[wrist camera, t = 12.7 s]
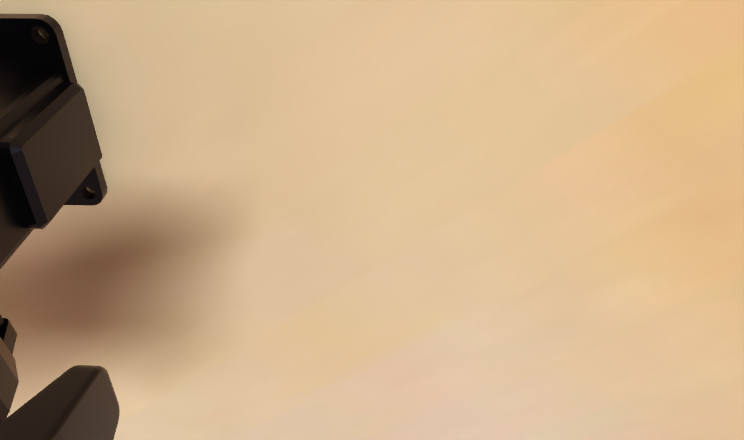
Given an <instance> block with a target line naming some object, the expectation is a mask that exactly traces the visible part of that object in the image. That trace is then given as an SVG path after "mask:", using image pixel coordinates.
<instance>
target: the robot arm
mask: <svg viewBox="0 0 744 440" xmlns="http://www.w3.org/2000/svg"><path fill="white" fill-rule="evenodd" d="M38 27H41V28H43V29H44V30H46V32H47V33H48V35H49V39H46V38H43V37H42V36H41V35H40V34H39V32H38ZM101 158H102V153H101V150H100V146H99V143H98V139H97V135H96V132H95V128H94V125H93V121H92V118H91V114H90V110H89V107H88V103H87V100H86V96H85V93H84V90H83V88H82V87H81V86H80V85H79V84H78V83H77V80H76V77H75V73H74V69H73V66H72V62H71V59H70V55H69V52H68V48H67V45H66V41H65V38H64V34H63V31H62V29H61V27H60V25H59V24H58V22H57V21H56V20H55V19H53V18H52V17H50V16H48V15H43V14H0V269H1V268H2V266H3V265H4V264H5V263H6V262H7V260H8V259H9V258H10V257H11V256H12V254H13V253H14V252H15V251H16V250H17V248H18V247H19V246H20V245H21V244H22V242H23V241H24V240H25V239H26V238H27V236H28V235H29V234H30V233H31V232H32V230H33V229H43V228H45V227H46V226H47V225H48V223H49V222H50V221H51V220H52V219H53V217H54V216H55V215H56V214H57V212H58V211H59V210H60V209H61V207H62V206H63V205H97V204H99V203H100V202H101V201H102V200H103V198H104V197H105V195H106V193H107V186H106V182H105V179H104V175H103V172H102V168H101V164H100V161H99V160H100V159H101ZM86 187H90V188H91V189H93V190H94V191H95V193H91V192H90V191H88V190H87V188H86ZM16 337H17V333H16V331H15V330H14V328H13V326H12V325H11V323H10V322H9V320H8V319H7V318H2V317H1V315H0V440H113V439H114V435H115V432H116V428H117V424H118V420H119V404H118V401H117V398H116V395H115V392H114V389H113V386H112V383H111V381H110V378H109V375H108V372H107V370H106V369H105V368H103V367H101V366H84V365H78V366H74V367H72V368H70V369H68V370H67V371H66V372H65V373H63V374H62V375H61V376H60V377H58V378H57V379H56V380H54V381H53V382H52V383H51V384H49V385H48V386H47V387H46V388H44V389H43V390H42V391H41V392H39V393H38V394H37V395H36V396H34V397H33V398H32V399H30V400H29V401H28V402H27V403H25V404H24V405H23V406H22V407H20V408H19V409H18V410H17V411H15V412H14V413H13V414H12V415H10V416H9V417H8V418H7V415H8V413H9V411H10V408H11V405H12V401H13V398H14V395H15V392H16V388H17V385H18V382H19V381H18V375H17V369H16V364H15V359H14V357H13V356H12V353H13V349H14V345H15V341H16Z"/></svg>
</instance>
